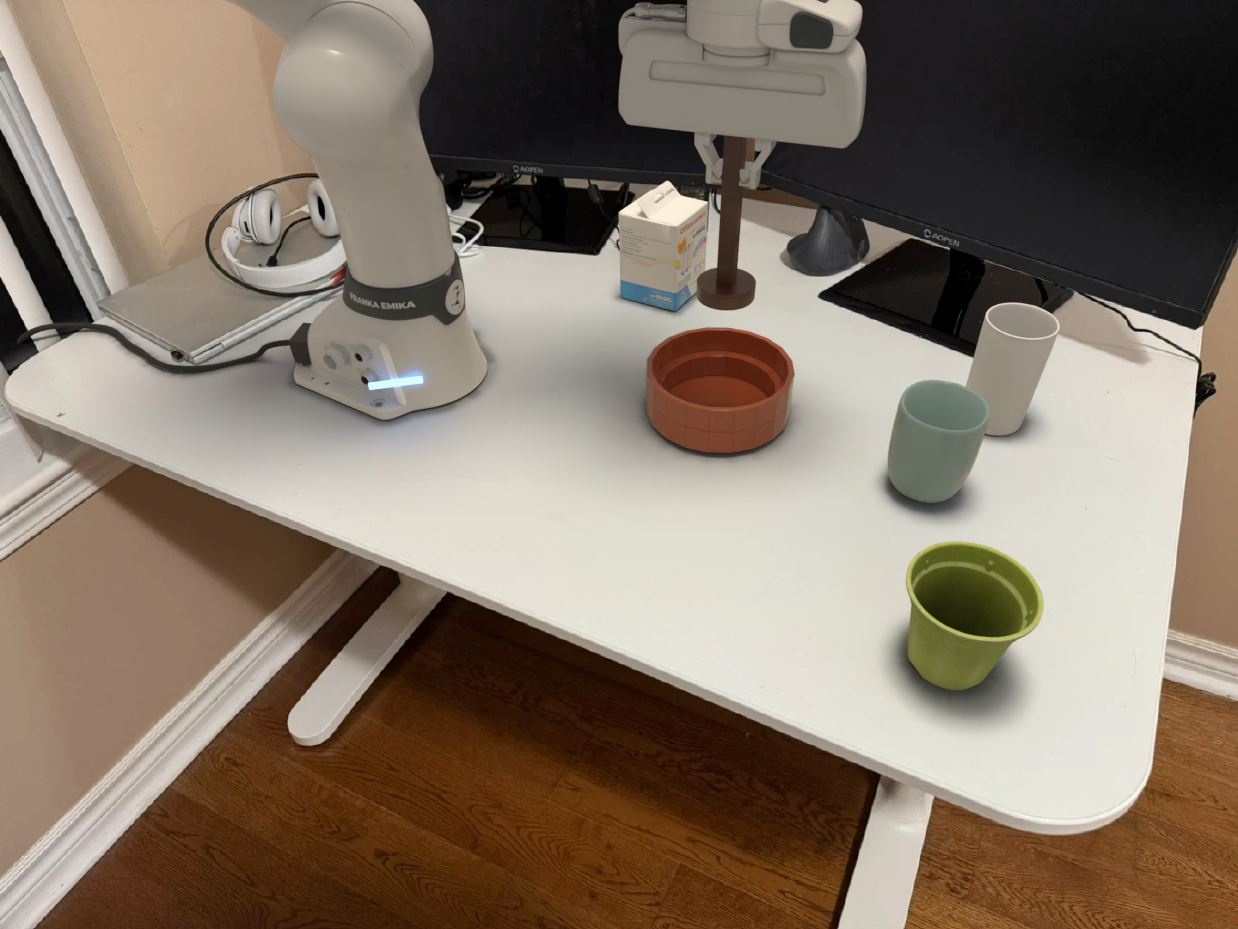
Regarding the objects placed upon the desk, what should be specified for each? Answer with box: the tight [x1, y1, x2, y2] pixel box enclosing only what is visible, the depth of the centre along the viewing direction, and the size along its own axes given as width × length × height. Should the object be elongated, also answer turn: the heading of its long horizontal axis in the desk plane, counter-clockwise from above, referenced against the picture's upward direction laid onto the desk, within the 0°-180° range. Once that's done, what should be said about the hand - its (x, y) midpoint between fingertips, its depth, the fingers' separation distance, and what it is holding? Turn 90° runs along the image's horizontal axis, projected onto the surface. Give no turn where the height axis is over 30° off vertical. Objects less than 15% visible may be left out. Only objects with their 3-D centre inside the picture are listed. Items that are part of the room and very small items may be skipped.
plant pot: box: [905, 540, 1045, 691], centre depth 64 cm, size 9×9×9 cm
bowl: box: [645, 326, 796, 454], centre depth 90 cm, size 15×15×6 cm
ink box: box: [618, 180, 709, 312], centre depth 107 cm, size 9×8×13 cm
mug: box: [965, 302, 1061, 437], centre depth 87 cm, size 10×7×12 cm, turn 145°
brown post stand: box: [695, 135, 757, 311], centre depth 75 cm, size 6×6×18 cm
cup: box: [887, 379, 990, 504], centre depth 79 cm, size 8×8×10 cm
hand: (732, 184), depth 74 cm, fingers closed on brown post stand
